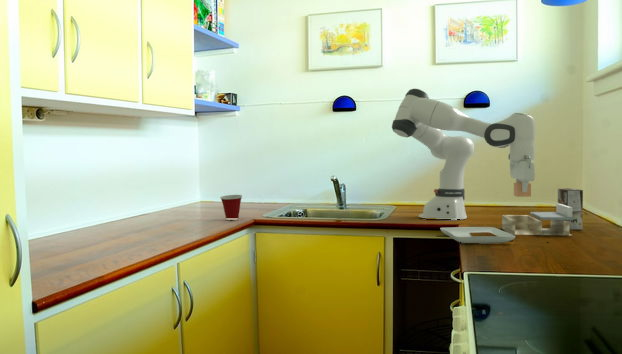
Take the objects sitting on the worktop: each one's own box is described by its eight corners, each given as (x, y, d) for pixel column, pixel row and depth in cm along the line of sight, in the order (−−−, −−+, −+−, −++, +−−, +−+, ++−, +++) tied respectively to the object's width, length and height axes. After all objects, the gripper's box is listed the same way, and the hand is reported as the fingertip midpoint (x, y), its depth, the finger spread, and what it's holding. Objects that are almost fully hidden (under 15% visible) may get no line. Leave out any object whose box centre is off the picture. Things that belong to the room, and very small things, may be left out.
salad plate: (492, 234, 189) (492, 225, 189) (516, 245, 168) (517, 235, 168) (438, 235, 189) (438, 226, 188) (456, 246, 167) (456, 236, 167)
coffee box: (583, 229, 194) (584, 190, 193) (567, 229, 195) (567, 190, 194) (571, 225, 204) (572, 188, 203) (556, 226, 204) (556, 188, 203)
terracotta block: (517, 196, 184) (517, 183, 184) (513, 195, 189) (513, 182, 189) (530, 196, 183) (531, 183, 183) (527, 195, 188) (527, 182, 188)
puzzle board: (510, 237, 181) (510, 220, 181) (501, 230, 195) (501, 215, 195) (572, 237, 178) (572, 220, 177) (558, 231, 192) (558, 215, 191)
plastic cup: (216, 220, 235) (215, 196, 234) (229, 217, 244) (229, 194, 244) (234, 222, 230) (233, 197, 229) (247, 219, 239) (246, 195, 238)
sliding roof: (541, 219, 179) (541, 207, 179) (530, 214, 193) (530, 203, 193) (573, 220, 177) (573, 207, 177) (559, 214, 191) (559, 203, 191)
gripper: (539, 155, 174) (539, 193, 175) (523, 154, 195) (523, 189, 195) (521, 156, 175) (520, 193, 176) (507, 155, 196) (507, 189, 196)
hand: (521, 191), depth 186 cm, fingers closed on terracotta block, 5 cm apart
